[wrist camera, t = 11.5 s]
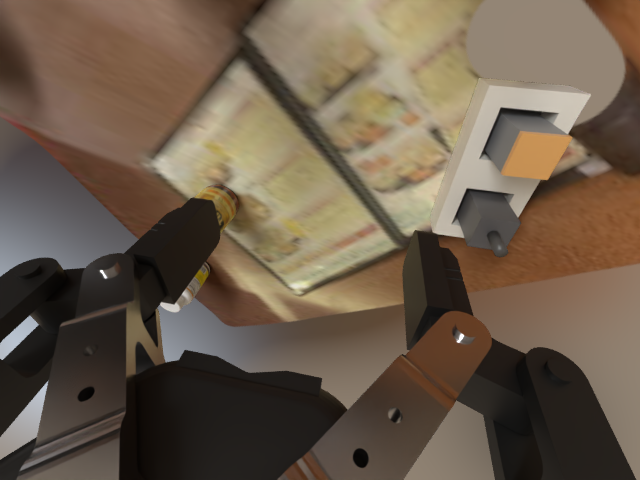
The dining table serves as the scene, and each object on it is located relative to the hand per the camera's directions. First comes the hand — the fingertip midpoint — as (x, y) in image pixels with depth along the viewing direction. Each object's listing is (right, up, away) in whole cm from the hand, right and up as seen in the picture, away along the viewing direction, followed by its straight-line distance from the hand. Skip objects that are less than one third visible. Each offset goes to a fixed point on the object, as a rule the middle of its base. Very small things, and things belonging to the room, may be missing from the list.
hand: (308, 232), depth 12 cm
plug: (+21, +12, +21) cm, 32 cm away
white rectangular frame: (+21, +9, +24) cm, 34 cm away
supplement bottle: (-24, -5, +47) cm, 53 cm away
